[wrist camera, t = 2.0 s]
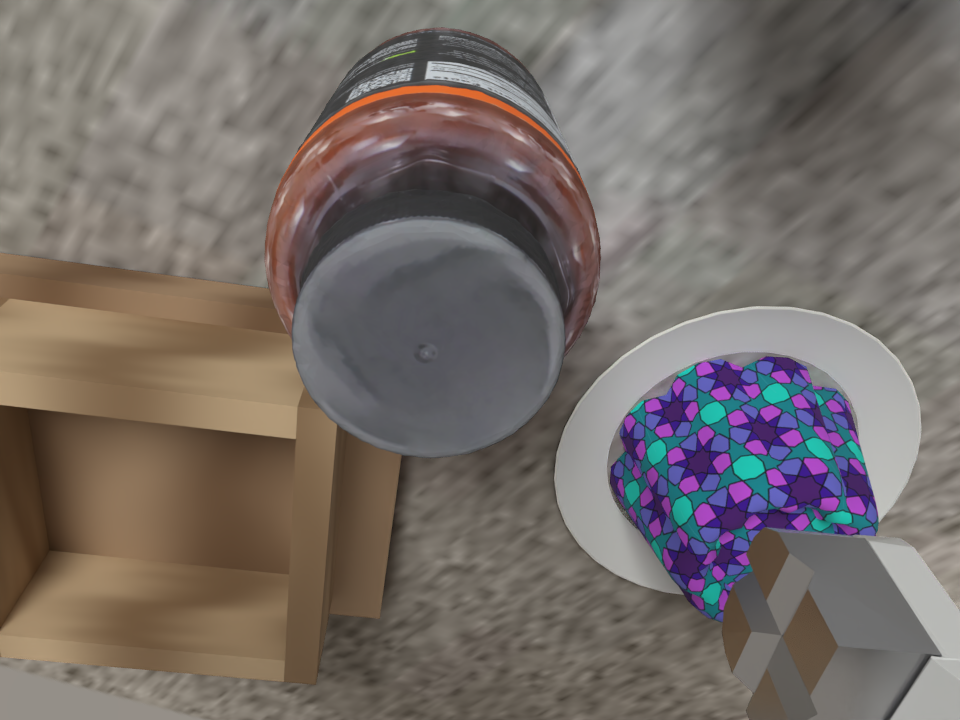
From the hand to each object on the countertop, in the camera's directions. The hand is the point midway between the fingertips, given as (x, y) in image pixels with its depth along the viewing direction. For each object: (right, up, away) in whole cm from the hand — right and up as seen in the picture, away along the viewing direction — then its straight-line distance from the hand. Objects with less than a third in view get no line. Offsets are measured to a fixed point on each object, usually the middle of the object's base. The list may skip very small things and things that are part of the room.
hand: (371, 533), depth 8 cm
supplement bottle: (0, +8, +13) cm, 15 cm away
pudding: (+10, -1, +19) cm, 21 cm away
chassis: (-12, 0, +17) cm, 21 cm away
